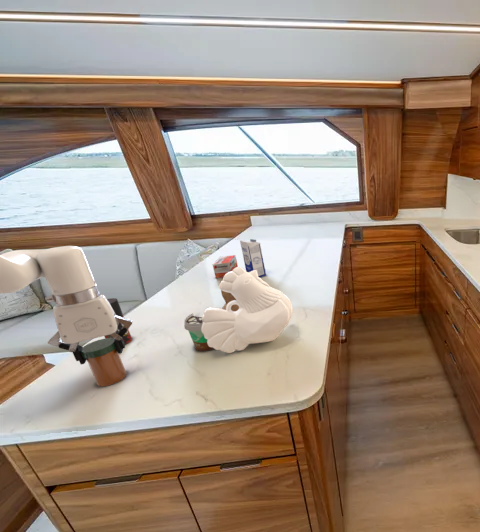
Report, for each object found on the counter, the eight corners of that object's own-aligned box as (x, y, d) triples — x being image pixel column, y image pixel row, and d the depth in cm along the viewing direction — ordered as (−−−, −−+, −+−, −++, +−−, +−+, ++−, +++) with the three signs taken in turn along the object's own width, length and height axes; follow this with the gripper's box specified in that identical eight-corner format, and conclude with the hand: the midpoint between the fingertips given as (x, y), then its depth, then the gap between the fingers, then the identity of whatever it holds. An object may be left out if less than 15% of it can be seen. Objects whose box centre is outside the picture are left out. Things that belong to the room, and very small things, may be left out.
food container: (181, 349, 95) (172, 322, 91) (198, 339, 100) (191, 313, 97) (210, 356, 91) (203, 327, 88) (227, 345, 97) (220, 317, 93)
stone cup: (249, 318, 114) (241, 281, 109) (215, 321, 112) (206, 284, 107) (259, 301, 128) (252, 268, 123) (229, 304, 126) (221, 271, 121)
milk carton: (247, 276, 157) (239, 240, 151) (259, 273, 162) (252, 237, 156) (254, 279, 153) (246, 241, 146) (266, 275, 158) (259, 239, 151)
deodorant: (129, 344, 98) (114, 303, 94) (105, 349, 96) (88, 308, 91) (133, 335, 103) (119, 296, 98) (111, 341, 101) (95, 301, 96)
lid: (79, 361, 75) (77, 355, 74) (86, 349, 80) (83, 343, 79) (115, 352, 78) (113, 346, 78) (119, 340, 84) (117, 335, 83)
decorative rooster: (300, 304, 109) (245, 256, 100) (302, 315, 94) (238, 261, 86) (248, 356, 104) (186, 311, 96) (242, 377, 90) (168, 325, 81)
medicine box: (222, 269, 169) (219, 256, 167) (238, 267, 171) (235, 254, 169) (215, 278, 156) (211, 264, 153) (232, 276, 158) (229, 262, 155)
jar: (95, 389, 78) (80, 356, 75) (99, 377, 83) (86, 345, 79) (125, 380, 81) (112, 347, 78) (128, 369, 86) (115, 337, 83)
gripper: (19, 311, 66) (51, 377, 72) (121, 291, 76) (143, 351, 82) (31, 300, 72) (61, 361, 78) (125, 283, 82) (145, 339, 87)
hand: (102, 355), depth 80 cm, fingers closed on lid, 6 cm apart
